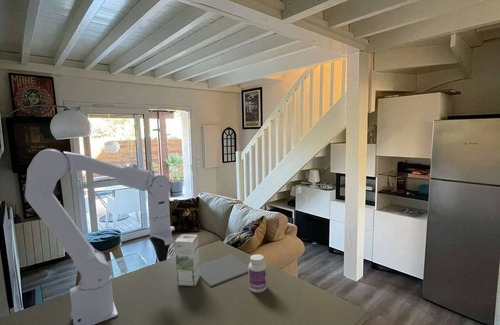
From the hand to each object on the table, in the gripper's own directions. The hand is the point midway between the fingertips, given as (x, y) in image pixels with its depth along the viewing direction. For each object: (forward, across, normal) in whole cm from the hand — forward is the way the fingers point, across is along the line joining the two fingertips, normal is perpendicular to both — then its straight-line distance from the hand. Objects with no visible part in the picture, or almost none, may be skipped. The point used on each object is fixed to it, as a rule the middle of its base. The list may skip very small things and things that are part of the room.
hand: (162, 260), depth 79 cm
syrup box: (+10, 0, -8) cm, 12 cm away
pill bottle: (+10, -16, -23) cm, 29 cm away
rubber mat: (+10, 0, -20) cm, 22 cm away
